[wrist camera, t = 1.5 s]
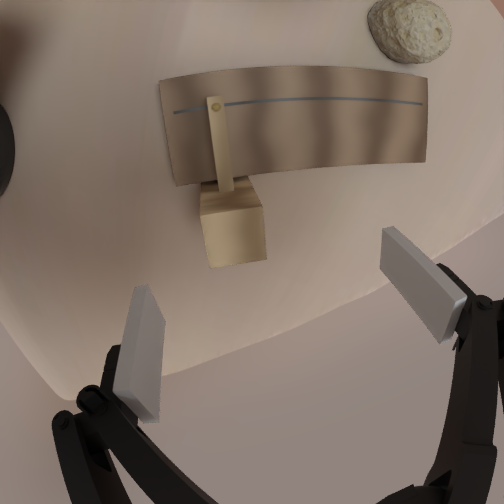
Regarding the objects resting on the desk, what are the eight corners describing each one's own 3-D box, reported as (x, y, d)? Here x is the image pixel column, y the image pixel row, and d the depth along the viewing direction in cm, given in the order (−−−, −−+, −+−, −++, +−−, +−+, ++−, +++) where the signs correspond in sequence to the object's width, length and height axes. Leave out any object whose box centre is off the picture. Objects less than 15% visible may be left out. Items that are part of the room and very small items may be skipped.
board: (177, 179, 31) (175, 186, 29) (162, 82, 25) (158, 80, 23) (414, 157, 34) (425, 162, 31) (415, 77, 28) (427, 78, 26)
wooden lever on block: (207, 220, 34) (210, 268, 26) (189, 99, 27) (181, 101, 18) (250, 214, 35) (266, 259, 26) (237, 93, 27) (252, 92, 19)
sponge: (409, 51, 29) (462, 26, 20) (407, 89, 27) (474, 63, 18) (362, 6, 26) (415, -29, 17) (353, 36, 24) (420, -6, 15)
